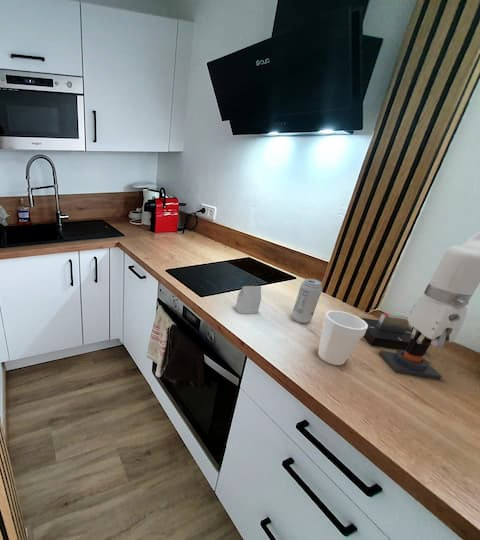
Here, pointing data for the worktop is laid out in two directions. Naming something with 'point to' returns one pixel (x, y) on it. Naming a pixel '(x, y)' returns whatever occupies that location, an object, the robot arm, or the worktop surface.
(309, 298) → the energy drink can
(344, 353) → the foam cup
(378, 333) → the tap deck
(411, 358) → the button
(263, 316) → the worktop surface
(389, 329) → the lever
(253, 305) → the grey tapered block
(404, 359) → the button block
